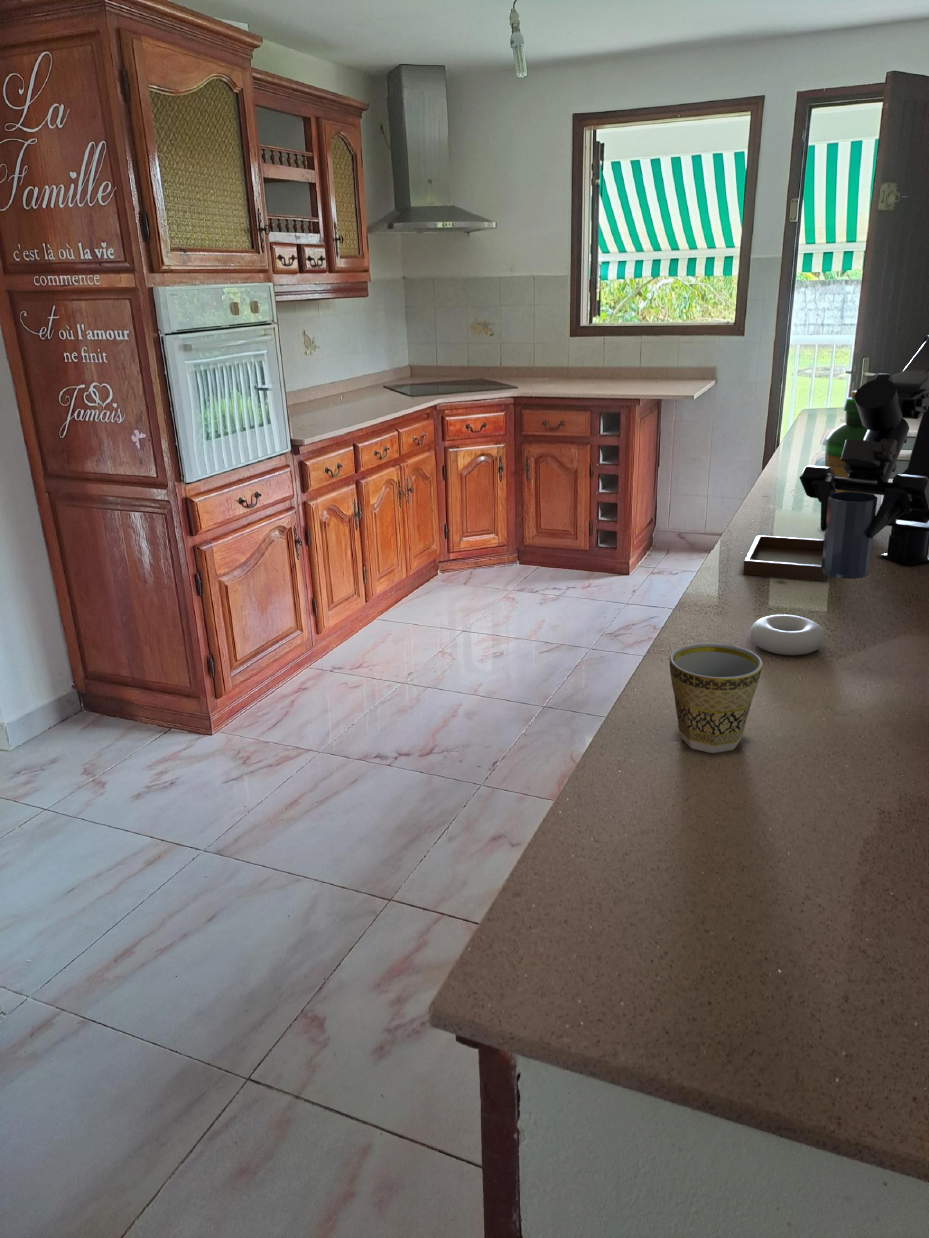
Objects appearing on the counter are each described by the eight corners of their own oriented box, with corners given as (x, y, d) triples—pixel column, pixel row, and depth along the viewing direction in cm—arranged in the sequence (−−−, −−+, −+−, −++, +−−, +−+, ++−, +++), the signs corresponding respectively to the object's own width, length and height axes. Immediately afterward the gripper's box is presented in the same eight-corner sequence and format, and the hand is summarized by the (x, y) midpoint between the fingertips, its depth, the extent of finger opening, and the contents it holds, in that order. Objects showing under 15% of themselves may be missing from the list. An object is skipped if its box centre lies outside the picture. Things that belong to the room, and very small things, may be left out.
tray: (756, 548, 172) (757, 535, 171) (830, 553, 166) (832, 540, 166) (743, 574, 157) (744, 560, 156) (824, 581, 152) (826, 567, 151)
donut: (824, 662, 120) (822, 635, 129) (826, 639, 119) (824, 613, 128) (747, 656, 124) (750, 629, 132) (749, 633, 122) (752, 608, 131)
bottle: (816, 536, 177) (830, 394, 167) (817, 523, 186) (831, 388, 177) (873, 540, 173) (892, 394, 164) (872, 526, 183) (889, 388, 173)
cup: (846, 563, 142) (854, 490, 138) (878, 574, 136) (887, 498, 132) (811, 569, 140) (819, 495, 136) (843, 581, 134) (851, 504, 130)
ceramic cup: (741, 768, 95) (748, 684, 92) (653, 747, 100) (656, 667, 97) (772, 719, 105) (779, 642, 102) (690, 703, 110) (694, 629, 107)
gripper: (809, 414, 138) (773, 496, 135) (938, 421, 126) (901, 512, 123) (825, 455, 146) (791, 534, 143) (947, 466, 134) (913, 553, 131)
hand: (845, 533), depth 135 cm, fingers closed on cup, 7 cm apart
